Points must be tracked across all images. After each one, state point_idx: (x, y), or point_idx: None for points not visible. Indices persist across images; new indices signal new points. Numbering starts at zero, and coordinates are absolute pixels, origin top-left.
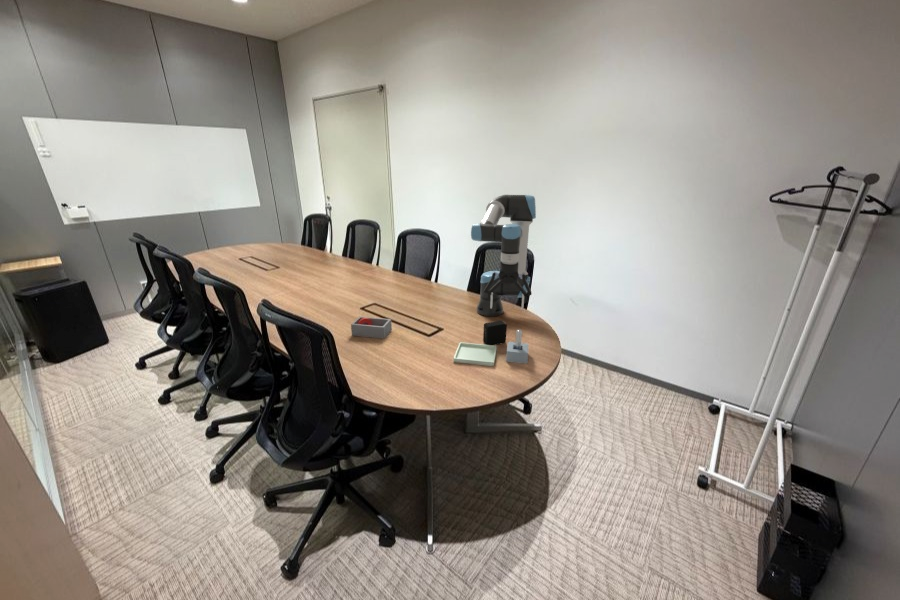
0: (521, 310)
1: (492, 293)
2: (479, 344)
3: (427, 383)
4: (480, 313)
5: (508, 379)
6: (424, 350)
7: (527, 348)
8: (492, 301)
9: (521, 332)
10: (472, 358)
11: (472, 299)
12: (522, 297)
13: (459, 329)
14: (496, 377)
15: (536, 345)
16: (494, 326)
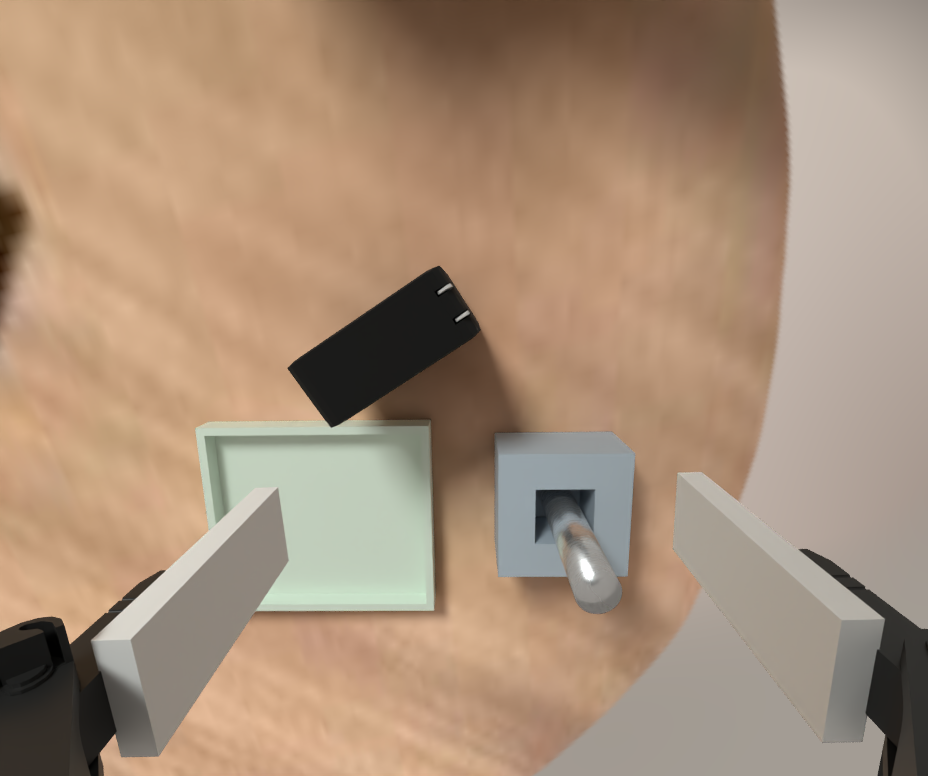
0: (673, 549)
1: (136, 683)
2: (321, 432)
3: (181, 769)
4: None
5: (515, 683)
6: (40, 516)
7: (625, 519)
8: (243, 525)
9: (614, 599)
10: (316, 559)
11: None
12: (807, 723)
13: (133, 184)
14: (460, 679)
15: (673, 315)
16: (380, 396)
